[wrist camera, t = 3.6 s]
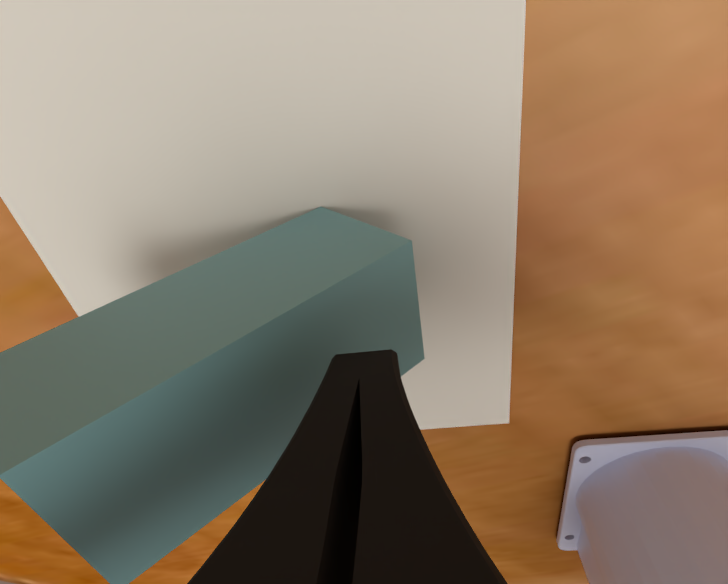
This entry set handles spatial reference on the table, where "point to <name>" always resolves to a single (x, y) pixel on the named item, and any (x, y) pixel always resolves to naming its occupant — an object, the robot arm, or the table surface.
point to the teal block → (195, 384)
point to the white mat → (277, 151)
